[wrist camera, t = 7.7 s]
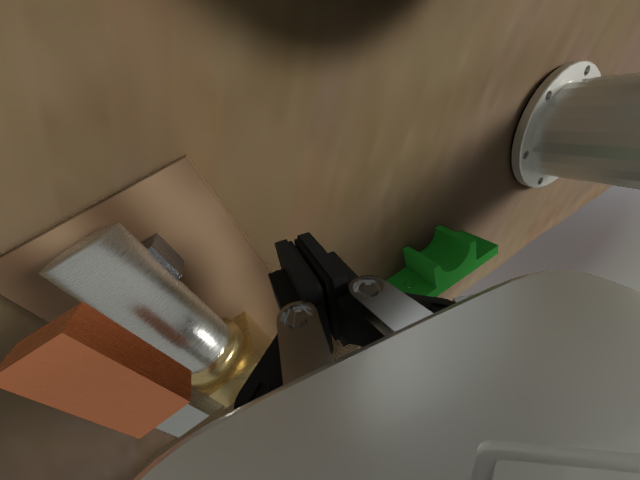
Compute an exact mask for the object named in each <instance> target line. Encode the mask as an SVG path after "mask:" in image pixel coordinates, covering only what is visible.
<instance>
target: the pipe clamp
mask: <svg viewBox="0 0 640 480" xmlns="http://www.w3.org/2000/svg"><path fill="white" fill-rule="evenodd" d="M402 251H403V255H404V259H405V263H406V267H405V268H404V269H402V270H401V271H399V272H398V273H396V274H395V275H393V276H392V277H390V278H389V279H387V280H386V281H387V282H388V283H390V284H391V285H393V286H394V287H396V288H397V289H399V290H400V291H401V292H404V293H411V294H418V295H425V296H431V297H437V296H438V295H439V294H441V293H442V292H444V291H445V290H447V289H448V288H449V287H451V286H452V285H454V284H455V283H456V282H458V281H459V280H461V279H462V278H464V277H465V276H466V275H468V274H469V273H471V272H472V271H473V270H475V269H476V268H478V267H479V266H481V265H482V264H483V263H485V262H486V261H488V260H489V259H490V258H492V257H493V256H495V255H496V254H498V245H496V244H494V243H492V242H489V241H487V240H484V239H482V238H479V237H477V236H475V235H472V234H470V233H467V232H465V231H463V230H461V231H460V232H458V233H457V232H455V231H453V230H450V229H448V228H446V227H443V226H441V225H439V226H437V227H436V228H435V233H434V237H433V239H432V241H431V243H430V244H429V245H428V247H427V248H425V249H424V250H422V251H420V252H417V251H416V250H414V249H412V248H411V247H409V246H406V247H405V248H403V249H402ZM408 287H411V288H408Z"/></svg>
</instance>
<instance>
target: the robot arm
mask: <svg viewBox="0 0 640 480" xmlns="http://www.w3.org/2000/svg"><path fill="white" fill-rule="evenodd" d="M511 161H512V169H513V173H514V176H515V178H516V179H517V181H518V182H519V183H521V184H522V185H525V186H529V187H535V188H539V187H543V186H546V185H548V184H550V183H552V182H553V181H554V180H556V179H557V178H559V177H562V178H568V179H574V180H581V181H587V182H594V183H600V184H607V185H613V186H619V187H626V188H632V189H639V190H640V72H638V73H630V74H621V75H612V76H603V77H601V75H600V72H599V70H598V68H597V66H596V65H594V64H593V63H592V62H590V61H586V60H584V61H576V62H570V63H567V64H564V65H562V66H561V67H559V68H558V69H556V70H555V71H554V72H552V73H551V74H550V75H549V76H548V77H547V78H546V79H545V80H544V81H543V83H542V84H541V85H540V86H539V87H538V88H537V90H536V91H535V93H534V94H533V96H532V97H531V99H530V100H529V102H528V104H527V106H526V108H525V110H524V112H523V114H522V116H521V119H520V121H519V124H518V126H517V130H516V133H515V136H514V141H513V146H512V157H511ZM294 242H295V245H294V244H293V242H292V241H289V242H288V241H287V240H286V239H285V240H282V241H279V242H276V243H275V247H276V250H277V254H278V258H279V261H280V265H281V270H278V271H275V272H272V273H269V274H268V276H269V279H270V283H271V286H272V289H273V292H274V295H275V298H276V301H277V304H278V307H279V309H280V311H279V313H278V315H277V319H276V324H277V335H276V336H275V338H274V339H273V341H272V343H271V344H270V346H269V347H268V349H267V350H266V352H265V353H264V355H263V356H262V358H261V359H260V361H259V362H258V364H257V365H256V367H255V368H254V370H253V371H252V373H251V374H250V376H249V378H248V379H247V381H246V382H245V384H244V385H243V387H242V388H241V390H240V391H239V393H238V395H237V397H236V399H235V402H234V403H233V404H232V405H230V406H229V407H227V408H226V409H225V407H224V406H222V407H221V408H220V409H218V410H217V411H215V412H214V413H213V414H211V415H210V416H208V417H207V418H206V419H204V420H203V421H201V422H200V423H199V424H197V425H196V426H194V427H193V428H191V429H190V430H189V431H187V432H186V433H184V434H183V435H182V436H180V437H179V438H177V439H176V440H175V441H173V442H172V443H170V444H169V445H168V446H166V447H165V448H163V449H162V450H161V451H159V452H158V453H156V454H155V455H154V456H153V457H152V458H151V459H150V460H149V461H148V462H147V463H146V464H145V466H144V467H143V468H142V470H141V471H140V472H139V474H138V475H137V476H136V477H135V478H134V479H133V480H640V291H637V290H635V289H632V288H630V287H627V286H624V285H621V284H618V283H616V282H613V281H611V280H608V279H605V278H602V277H599V276H596V275H592V274H589V273H586V272H581V271H575V270H553V271H542V272H536V273H531V274H526V275H523V276H520V277H516V278H513V279H510V280H508V281H505V282H503V283H500V284H498V285H495V286H493V287H490V288H488V289H486V290H484V291H481V292H479V293H475V294H470V295H466V296H461V297H457V298H453V301H450V300H448V299H444V298H438V297H431V296H425V295H418V294H411V293H404V292H401V291H400V290H399V289H397V288H396V287H394V286H393V285H391V284H390V283H388V282H387V281H385V280H384V279H382V278H380V277H378V276H374V275H363V276H359V277H358V276H357V275H356V274H355V273H354V272H353V271H352V270H351V269H350V268H349V267H348V266H347V265H346V264H345V263H344V262H343V260H342V259H341V258H340V257H339V256H338V255H337V254H336V253H335V252H330V253H327V252H326V251H325V250H324V248H323V247H322V246H321V245H320V244H319V243H318V242H317V241H316V240H315V238H314V237H313V236H312V235H311V234H310V233H309V232H308V233H304V234H301V235H298V239H295V240H294ZM331 335H332V336H333V338H334V340H335V341H336V340H338V339H339V340H340V342H341V343H342V345H343V346H345V345H347V344H354V345H356V349H357V350H355V351H353V352H351V353H349V354H347V355H345V356H343V357H341V358H339V359H337V360H335V361H333V358H332V352H333V345H332V338H331Z"/></svg>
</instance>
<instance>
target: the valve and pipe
mask: <svg viewBox="0 0 640 480" xmlns="http://www.w3.org/2000/svg"><path fill="white" fill-rule="evenodd" d="M183 268H184V260H183V259H182V258H181V256H180V255H179V254H178V253H177V252H176V251H175V250H174V249H173V248H172V247H171V246H170V245H169V244H168V243H167V242H166V241H165V240H164V239H163V238H162V237H161V236H160V235H159V234H158V233H156V234H154V235H152V236H151V237H149V238H147V239H145V240H144V241H142V242H139V241H138V240H137V239H136V238H135V237H134V236H133V235H132V234H131V233H130V232H129V231H128V230H127V229H126V228H125V227H124V226H123V225H121V224H120V223H119V222H115V223H112V224H110V225H108V226H106V227H104V228H102V229H100V230H98V231H96V232H94V233H93V234H91V235H89V236H87V237H86V238H84V239H83V240H81V241H79V242H78V243H76V244H75V245H73V246H72V247H70V248H69V249H67V250H66V251H64V252H63V253H61V254H60V255H59V256H57V257H56V258H55V259H53V260H52V261H51V262H50V263H48V264H47V265H46V266H45V267H44V268H43V269H42V270H41V271H40V273H39V274H40V275H41V276H42V277H44V278H45V279H47V280H48V281H50V282H51V283H53V284H54V285H56V286H57V287H59V288H60V289H62V290H63V291H65V292H66V293H68V294H69V295H71V296H72V297H74V298H75V299H77V300H78V301H80V302H82V301H83V302H85V303H86V304H88V305H89V306H91V307H92V308H94V309H96V310H97V311H99V312H100V313H102V314H103V315H105V316H106V317H108V318H110V319H111V320H113V321H114V322H116V323H117V324H119V325H121V326H122V327H124V328H125V329H127V330H128V331H130V332H132V333H133V334H135V335H136V336H138V337H139V338H141V339H143V340H144V341H146V342H147V343H149V344H150V345H152V346H154V347H155V348H157V349H158V350H160V351H161V352H163V353H164V354H166V355H168V356H169V357H171V358H172V359H174V360H175V361H177V362H179V363H180V364H182V365H183V366H185V367H186V368H188V369H190V370H191V371H192V376H191V386H192V387H194V388H196V389H197V390H199V391H201V392H203V393H204V394H206V395H208V396H209V397H211V398H213V399H214V400H216V401H218V402H220V403H221V404H223V405H225V406H226V407H229V406H230V405H232V404H233V403H234V402H235V399H236V397H237V395H238V393H239V391H240V390H241V388H242V387H243V385H244V384H245V382H246V381H247V379H248V378H249V376H250V374H251V373H252V371H253V370H254V368H255V367H256V365H257V364H258V362H259V361H260V359H261V358H262V356H263V355H264V353H265V352H266V350H267V349H268V347H269V346H270V344H271V343H272V339H271V338H270V337H269V336H268V335H267V334H266V333H265V332H264V331H263V330H262V329H261V328H260V327H259V326H258V325H257V324H256V322H255V321H254V320H253V319H252V318H251V317H250V316H249V315H248V314H247V313H246V312H245V311H244V312H243V313H241V314H240V315H238V316H237V317H235V318H234V319H232V320H231V319H229V318H220V317H219V316H218V315H216V314H215V313H214V312H213V311H212V310H211V309H210V308H209V307H208V306H207V305H206V304H205V303H204V302H203V301H202V300H201V299H200V298H199V297H197V296H196V295H195V294H194V293H193V292H192V291H191V290H190V289H189V288H188V287H187V286H186V285H185V284H184V283H183V282H182V281H181V280H180V279H179V278H180V277H182V276H183Z"/></svg>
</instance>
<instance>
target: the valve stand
mask: <svg viewBox="0 0 640 480" xmlns="http://www.w3.org/2000/svg"><path fill="white" fill-rule="evenodd" d="M115 222H119V223H120V224H121V225H123V226H124V227H125V228H126V229H127V230H128V231H129V232H130V233H131V234H132V235H133V236H134V237H135V238H136V239H137V240H138V241H139V242H142V241H144V240H145V239H147V238H149V237H151V236H152V235H154V234H156V233H158V234H159V235H160V236H161V237H162V238H163V239H164V240H165V241H166V242H167V243H168V244H169V245H170V246H171V247H172V248H173V249H174V250H175V251H176V252H177V253H178V254H179V255H180V256H181V258H182V259H183V260H184V268H183V276H182V277H180V278H179V279H180V280H181V281H182V282H183V283H184V284H185V285H186V286H187V287H188V288H189V289H190V290H191V291H192V292H193V293H194V294H195V295H196V296H197V297H199V298H200V299H201V300H202V301H203V302H204V303H205V304H206V305H207V306H208V307H209V308H210V309H211V310H212V311H213V312H214V313H215V314H216V315H218V316H219V317H220V318H229V319H231V320H232V319H234V318H235V317H237V316H238V315H240V314H241V313H243V312H244V311H245V312H246V313H247V314H248V315H249V316H250V317H251V318H252V319H253V320H254V321H255V322H256V324H257V325H258V326H259V327H260V328H261V329H262V330H263V331H264V332H265V333H266V334H267V335H268V336H269V337H270V338H271V339H272V341H273V339H274V338H275V336H276V335H277V324H276V319H277V315H278V313H279V311H280V309H279V307H278V304H277V301H276V298H275V295H274V292H273V289H272V286H271V283H270V279H269V276H268V274H269V273H272V270H271V269H270V267H269V266H268V265H267V263H266V262H265V261H264V259H263V258H262V257H261V255H260V254H259V252H258V251H257V250H256V248H255V247H254V246H253V244H252V243H251V242H250V240H249V239H248V237H247V236H246V235H245V233H244V232H243V231H242V229H241V228H240V227H239V225H238V224H237V222H236V221H235V220H234V218H233V217H232V216H231V214H230V213H229V212H228V210H227V209H226V207H225V206H224V205H223V203H222V202H221V201H220V199H219V198H218V196H217V195H216V194H215V192H214V191H213V190H212V188H211V187H210V186H209V184H208V183H207V181H206V180H205V179H204V177H203V176H202V175H201V173H200V172H199V171H198V169H197V168H196V166H195V165H194V164H193V162H192V161H191V160H190V158H189V157H188V156H187V155H185V156H183V157H181V158H179V159H177V160H176V161H174V162H172V163H170V164H168V165H166V166H165V167H163V168H161V169H159V170H157V171H155V172H153V173H152V174H150V175H148V176H146V177H144V178H142V179H141V180H139V181H137V182H135V183H133V184H131V185H130V186H128V187H126V188H124V189H122V190H120V191H119V192H117V193H115V194H113V195H111V196H109V197H107V198H106V199H104V200H102V201H100V202H98V203H96V204H95V205H93V206H91V207H89V208H87V209H85V210H84V211H82V212H80V213H78V214H76V215H74V216H72V217H71V218H69V219H67V220H65V221H63V222H61V223H60V224H58V225H56V226H54V227H52V228H50V229H49V230H47V231H45V232H43V233H41V234H39V235H37V236H36V237H34V238H32V239H30V240H28V241H26V242H25V243H23V244H21V245H19V246H17V247H15V248H14V249H12V250H10V251H8V252H6V253H4V254H2V255H1V256H0V295H2V296H4V297H6V298H7V299H9V300H11V301H12V302H14V303H16V304H18V305H19V306H21V307H23V308H25V309H26V310H28V311H30V312H31V313H33V314H35V315H37V316H38V317H40V318H42V319H44V320H45V321H47V322H51V321H52V320H54V319H56V318H57V317H59V316H60V315H62V314H63V313H65V312H67V311H68V310H70V309H71V308H73V307H75V306H76V305H78V304H79V303H81V302H80V301H78V300H77V299H75V298H74V297H72V296H71V295H69V294H68V293H66V292H65V291H63V290H62V289H60V288H59V287H57V286H56V285H54V284H53V283H51V282H50V281H48V280H47V279H45V278H44V277H42V276H41V275H40V274H39V273H40V271H41V270H42V269H43V268H44V267H45V266H46V265H47V264H48V263H50V262H51V261H52V260H53V259H55V258H56V257H57V256H59V255H60V254H61V253H63V252H64V251H66V250H67V249H69V248H70V247H72V246H73V245H75V244H76V243H78V242H79V241H81V240H83V239H84V238H86V237H87V236H89V235H91V234H93V233H94V232H96V231H98V230H100V229H102V228H104V227H106V226H108V225H110V224H112V223H115ZM332 358H333V361H335V358H334V356H333V354H332Z"/></svg>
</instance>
